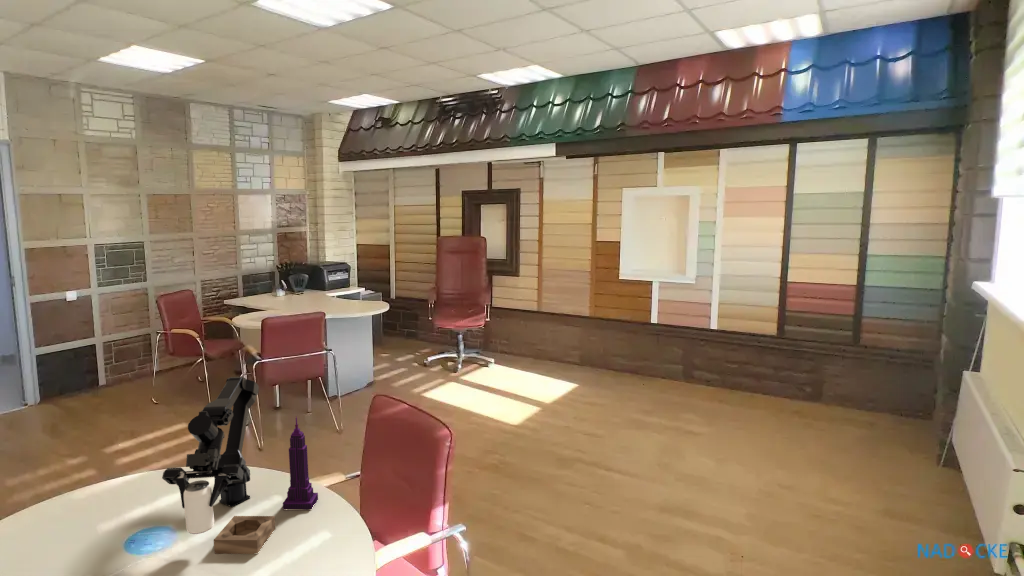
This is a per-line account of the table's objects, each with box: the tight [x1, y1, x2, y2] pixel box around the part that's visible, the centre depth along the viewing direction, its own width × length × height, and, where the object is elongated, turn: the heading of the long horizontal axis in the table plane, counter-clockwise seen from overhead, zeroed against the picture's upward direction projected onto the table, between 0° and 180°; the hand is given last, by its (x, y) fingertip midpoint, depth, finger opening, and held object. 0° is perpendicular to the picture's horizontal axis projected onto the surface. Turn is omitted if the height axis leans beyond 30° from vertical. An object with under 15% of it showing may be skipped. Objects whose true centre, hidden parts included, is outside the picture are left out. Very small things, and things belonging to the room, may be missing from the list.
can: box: [184, 480, 215, 535], centre depth 149 cm, size 6×6×12 cm
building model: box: [282, 417, 319, 510], centre depth 172 cm, size 9×6×30 cm
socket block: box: [213, 515, 276, 555], centre depth 155 cm, size 11×11×4 cm
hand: (197, 507), depth 148 cm, fingers closed on can, 6 cm apart
